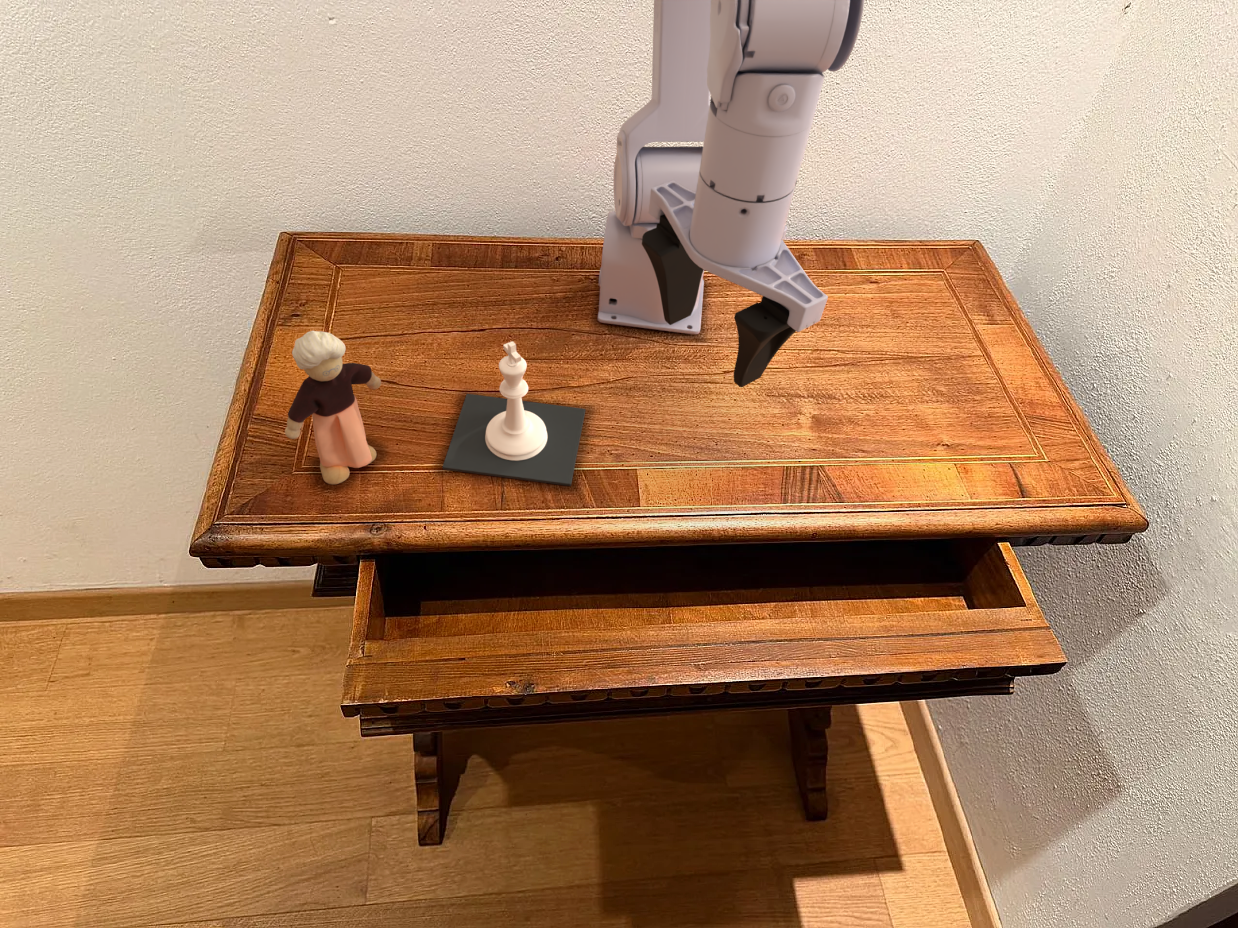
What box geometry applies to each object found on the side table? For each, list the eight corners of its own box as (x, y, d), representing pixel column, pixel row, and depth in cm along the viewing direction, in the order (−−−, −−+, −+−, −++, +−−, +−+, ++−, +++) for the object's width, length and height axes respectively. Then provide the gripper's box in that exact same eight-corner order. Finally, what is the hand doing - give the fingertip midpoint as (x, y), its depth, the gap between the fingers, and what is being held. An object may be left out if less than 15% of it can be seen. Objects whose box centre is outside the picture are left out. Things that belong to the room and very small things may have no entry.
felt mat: (442, 469, 61) (442, 467, 61) (467, 395, 66) (466, 393, 66) (570, 486, 61) (570, 484, 61) (585, 411, 66) (585, 408, 66)
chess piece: (505, 470, 61) (499, 378, 54) (473, 430, 64) (463, 336, 56) (559, 444, 63) (560, 351, 56) (526, 406, 66) (523, 312, 58)
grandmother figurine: (335, 503, 59) (291, 381, 49) (297, 479, 60) (247, 356, 50) (405, 438, 63) (378, 315, 53) (369, 418, 64) (336, 293, 54)
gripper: (886, 216, 45) (822, 385, 55) (716, 105, 52) (688, 275, 62) (799, 256, 42) (749, 428, 52) (631, 133, 49) (617, 306, 59)
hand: (711, 347), depth 57 cm, fingers open, 7 cm apart
